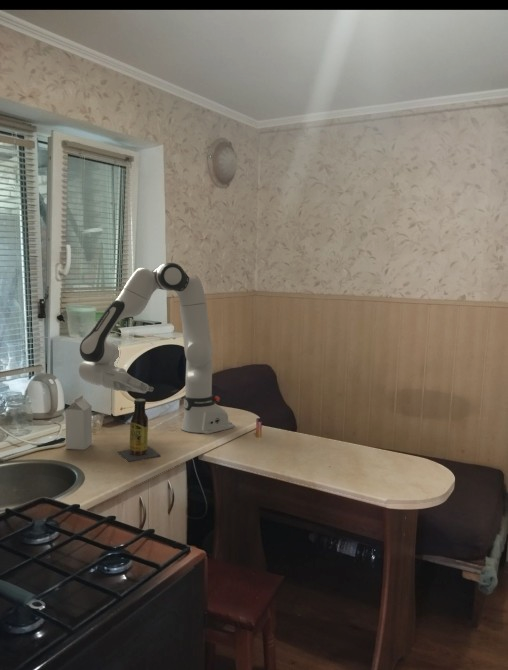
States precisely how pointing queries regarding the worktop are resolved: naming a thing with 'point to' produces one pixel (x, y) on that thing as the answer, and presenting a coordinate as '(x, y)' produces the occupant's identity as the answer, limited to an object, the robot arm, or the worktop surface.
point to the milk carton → (78, 424)
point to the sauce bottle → (139, 428)
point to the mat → (131, 457)
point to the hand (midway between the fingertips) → (147, 386)
